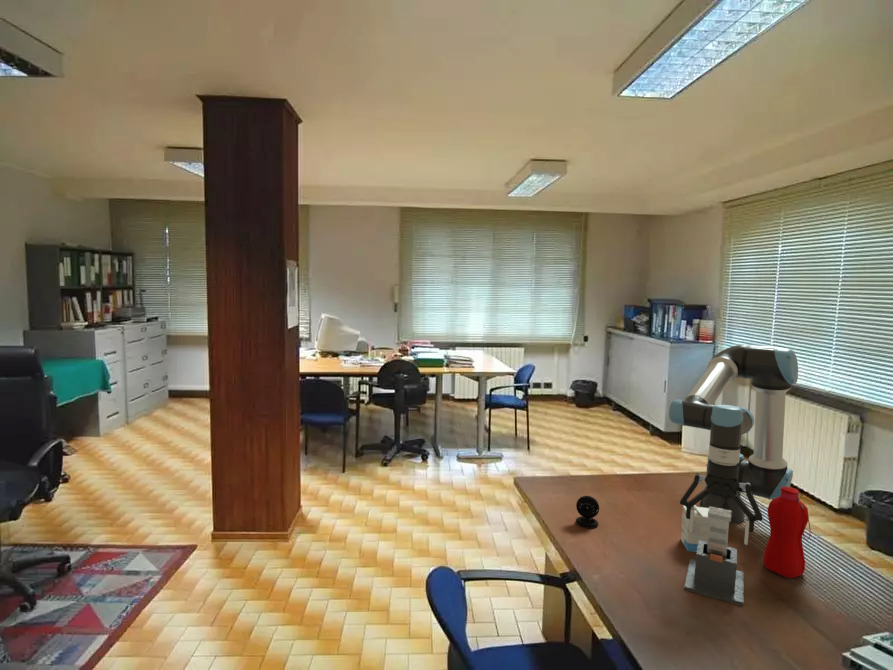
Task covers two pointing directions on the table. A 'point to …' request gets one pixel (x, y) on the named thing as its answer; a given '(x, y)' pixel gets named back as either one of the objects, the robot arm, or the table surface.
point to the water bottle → (786, 534)
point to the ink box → (695, 528)
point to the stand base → (715, 575)
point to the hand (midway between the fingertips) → (717, 536)
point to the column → (718, 531)
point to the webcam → (587, 511)
